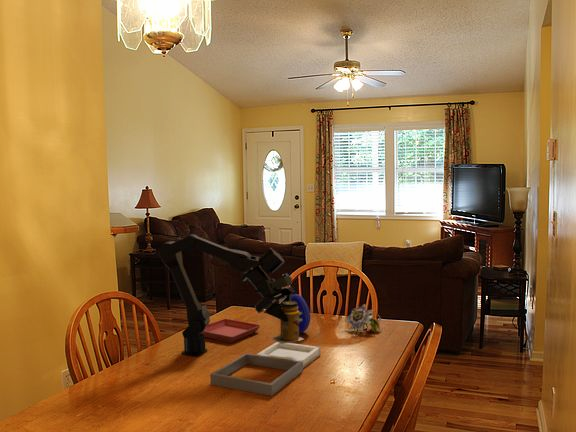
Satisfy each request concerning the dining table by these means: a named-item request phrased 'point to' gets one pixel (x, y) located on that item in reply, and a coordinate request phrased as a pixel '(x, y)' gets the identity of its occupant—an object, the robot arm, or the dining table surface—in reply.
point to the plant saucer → (229, 330)
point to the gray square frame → (270, 389)
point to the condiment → (289, 324)
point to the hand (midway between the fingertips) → (291, 318)
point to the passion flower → (362, 319)
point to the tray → (292, 352)
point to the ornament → (302, 312)
